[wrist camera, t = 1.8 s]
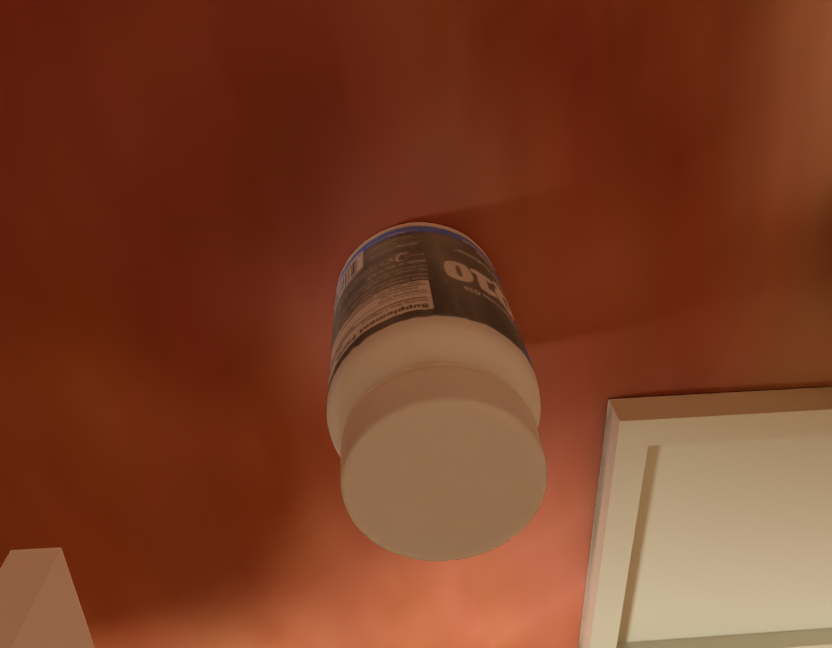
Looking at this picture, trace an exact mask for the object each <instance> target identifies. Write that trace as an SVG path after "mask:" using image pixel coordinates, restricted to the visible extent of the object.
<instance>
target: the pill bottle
mask: <svg viewBox="0 0 832 648" xmlns="http://www.w3.org/2000/svg"><path fill="white" fill-rule="evenodd" d="M326 413H327V424H328V430H329V433H330V437H331V439H332V442H333V445H334V447H335V449H336V451H337V453H338V454H339V456H340V458H341V471H340V487H341V493H342V498H343V502H344V505H345V507H346V510H347V512H348V514H349V516H350V518H351V519H352V521H353V522H354V524H355V525H356V526H357V528H358V529H359V530H360V531H361V532H362V533H363V534H364V535H365V536H366V537H368V538H369V539H370V540H371V541H373V542H374V543H375V544H377V545H379V546H381V547H382V548H384V549H386V550H389V551H391V552H393V553H396V554H398V555H401V556H404V557H408V558H413V559H417V560H425V561H448V560H458V559H465V558H469V557H473V556H476V555H479V554H482V553H485V552H488V551H490V550H493V549H495V548H496V547H498V546H500V545H502V544H504V543H506V542H507V541H509V540H510V539H511V538H512V537H514V536H515V535H516V534H518V533H519V532H520V531H521V530H522V529H523V528H524V527H525V526H526V525H527V524H528V523H529V521H530V520H531V519H532V517H533V516H534V515H535V513H536V512H537V510H538V508H539V506H540V504H541V502H542V499H543V496H544V493H545V489H546V481H547V465H546V460H545V455H544V451H543V448H542V444H541V441H540V436H539V431H538V426H539V421H540V413H541V400H540V392H539V386H538V382H537V378H536V375H535V372H534V369H533V367H532V364H531V362H530V359H529V356H528V353H527V351H526V348H525V347H524V344H523V341H522V339H521V336H520V333H519V330H518V328H517V326H516V322H515V320H514V317H513V315H512V313H511V310H510V307H509V305H508V302H507V300H506V297H505V294H504V292H503V289H502V286H501V284H500V281H499V279H498V276H497V274H496V272H495V269H494V267H493V265H492V263H491V262H490V260H489V258H488V257H487V255H486V254H485V253H484V251H483V250H482V249H481V248H480V247H479V246H478V245H477V244H476V243H475V242H474V241H473V240H472V239H470V238H469V237H468V236H466V235H465V234H463V233H461V232H459V231H457V230H455V229H452V228H450V227H447V226H443V225H439V224H434V223H426V222H411V223H405V224H400V225H396V226H393V227H390V228H388V229H385V230H383V231H381V232H379V233H377V234H375V235H373V236H372V237H370V238H369V239H367V240H366V241H365V242H363V243H362V244H361V245H360V246H359V247H358V248H357V249H356V250H355V251H354V252H353V253H352V255H351V256H350V257H349V259H348V260H347V262H346V264H345V266H344V268H343V270H342V272H341V275H340V277H339V280H338V284H337V290H336V297H335V307H334V323H333V334H332V343H331V362H330V372H329V383H328V394H327V406H326Z"/></svg>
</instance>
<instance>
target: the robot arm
mask: <svg viewBox="0 0 832 648" xmlns="http://www.w3.org/2000/svg"><path fill="white" fill-rule="evenodd" d="M0 648H95V646H94V643H93V640H92V637H91V634H90V631H89V628H88V625H87V622H86V619H85V616H84V613H83V610H82V607H81V604H80V601H79V598H78V595H77V592H76V590H75V587H74V584H73V581H72V578H71V575H70V572H69V569H68V566H67V563H66V560H65V557H64V554H63V551H62V548H61V547H58V548H39V549H20V550H10V552H9V554H8V556H7V557H6V559H5V561H4V563H3V564H2V566H1V568H0Z"/></svg>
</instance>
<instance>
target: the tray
mask: <svg viewBox="0 0 832 648" xmlns="http://www.w3.org/2000/svg"><path fill="white" fill-rule="evenodd" d="M578 648H832V387H817V388H800V389H782V390H764V391H746V392H728V393H710V394H692V395H674V396H656V397H638V398H620V399H608V406H607V414H606V423H605V431H604V439H603V447H602V456H601V464H600V472H599V480H598V489H597V497H596V505H595V513H594V521H593V530H592V538H591V546H590V554H589V563H588V571H587V579H586V587H585V596H584V604H583V612H582V620H581V629H580V637H579V645H578Z"/></svg>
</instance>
